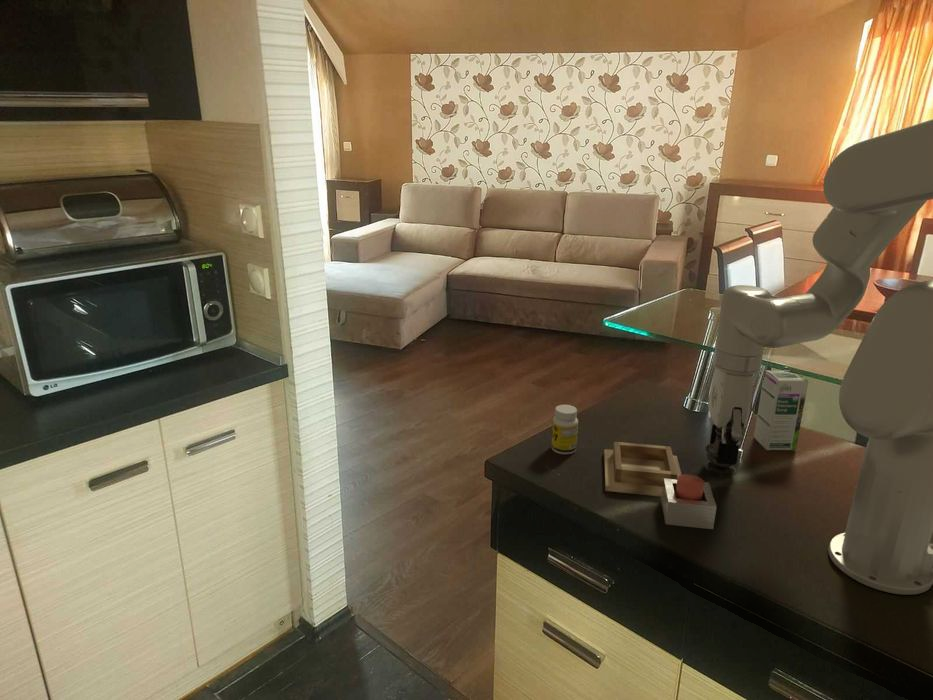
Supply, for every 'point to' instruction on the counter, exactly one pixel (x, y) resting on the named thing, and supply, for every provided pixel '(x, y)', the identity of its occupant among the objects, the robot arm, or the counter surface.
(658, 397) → the counter surface
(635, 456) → the open wooden tray
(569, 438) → the supplement bottle
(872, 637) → the counter surface
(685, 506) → the button box
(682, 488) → the button
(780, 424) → the syrup box
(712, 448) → the dark stone statuette
